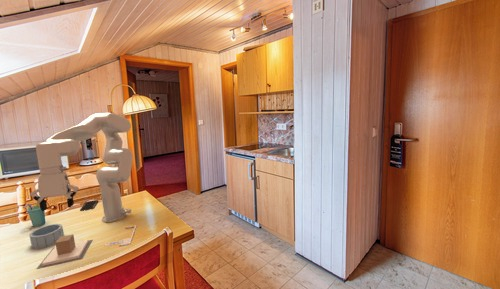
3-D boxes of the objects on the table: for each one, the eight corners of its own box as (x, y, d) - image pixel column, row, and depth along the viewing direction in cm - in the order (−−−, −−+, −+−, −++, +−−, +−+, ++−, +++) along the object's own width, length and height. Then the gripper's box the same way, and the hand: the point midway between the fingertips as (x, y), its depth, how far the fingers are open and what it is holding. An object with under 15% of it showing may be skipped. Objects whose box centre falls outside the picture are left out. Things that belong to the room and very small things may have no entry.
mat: (93, 240, 114) (93, 239, 114) (82, 260, 99) (82, 259, 99) (53, 248, 108) (53, 247, 108) (36, 270, 93) (35, 269, 93)
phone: (98, 199, 165) (93, 207, 151) (98, 201, 165) (93, 209, 152) (85, 201, 162) (79, 210, 148) (85, 203, 162) (79, 211, 149)
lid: (88, 241, 112) (86, 228, 110) (79, 257, 100) (76, 242, 98) (56, 248, 107) (53, 234, 106) (42, 266, 95) (39, 250, 94)
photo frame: (94, 250, 105) (106, 230, 122) (95, 252, 105) (106, 232, 122) (130, 243, 109) (136, 225, 126) (130, 245, 109) (136, 227, 126)
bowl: (67, 233, 122) (65, 222, 121) (58, 245, 110) (55, 233, 109) (39, 238, 118) (37, 226, 116) (26, 252, 106) (23, 239, 105)
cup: (37, 231, 125) (31, 205, 123) (20, 233, 124) (15, 206, 122) (54, 219, 139) (49, 195, 137) (39, 220, 138) (34, 197, 135)
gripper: (78, 166, 105) (84, 202, 107) (32, 170, 100) (38, 208, 102) (71, 170, 98) (77, 208, 100) (21, 175, 93) (28, 215, 95)
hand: (57, 208), depth 101 cm, fingers open, 9 cm apart
